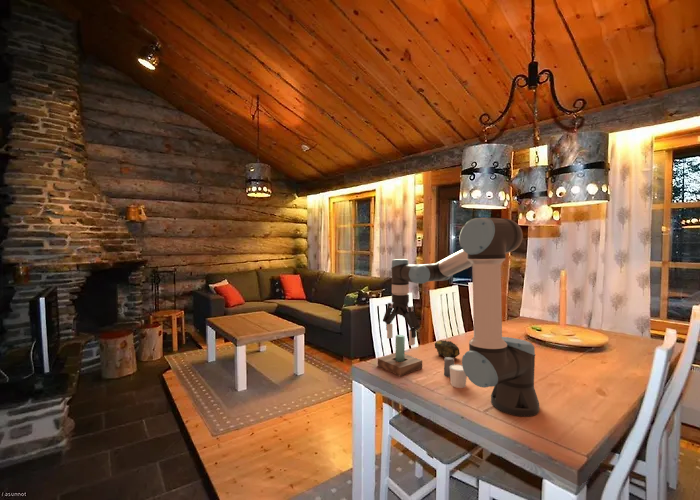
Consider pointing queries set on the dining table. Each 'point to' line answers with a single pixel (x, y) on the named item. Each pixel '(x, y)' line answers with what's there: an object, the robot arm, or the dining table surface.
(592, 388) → the dining table surface
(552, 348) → the dining table surface
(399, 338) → the long dowel
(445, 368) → the short dowel
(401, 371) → the hole block
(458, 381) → the shot glass
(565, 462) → the dining table surface
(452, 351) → the rock
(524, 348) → the robot arm
